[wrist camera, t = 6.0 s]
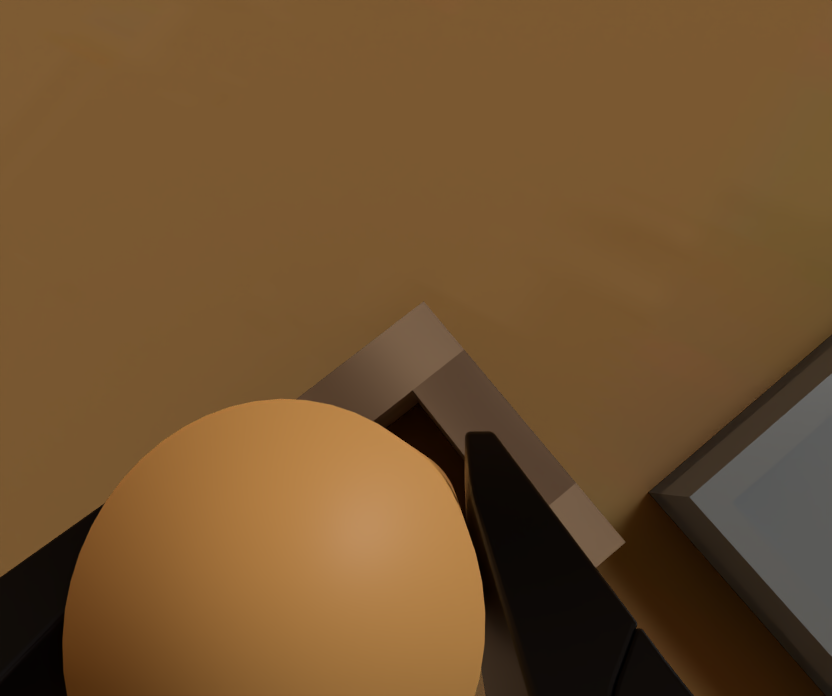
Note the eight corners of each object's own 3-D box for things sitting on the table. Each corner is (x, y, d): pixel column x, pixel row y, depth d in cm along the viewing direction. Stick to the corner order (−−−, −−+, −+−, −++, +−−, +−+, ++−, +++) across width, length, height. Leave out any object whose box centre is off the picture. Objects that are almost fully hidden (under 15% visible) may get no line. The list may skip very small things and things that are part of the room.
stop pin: (381, 612, 13) (205, 991, 4) (306, 501, 14) (-8, 568, 4) (485, 525, 14) (578, 659, 4) (405, 422, 14) (319, 322, 5)
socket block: (380, 713, 16) (365, 766, 13) (228, 481, 18) (186, 483, 15) (595, 529, 17) (625, 541, 14) (427, 327, 19) (423, 301, 16)
